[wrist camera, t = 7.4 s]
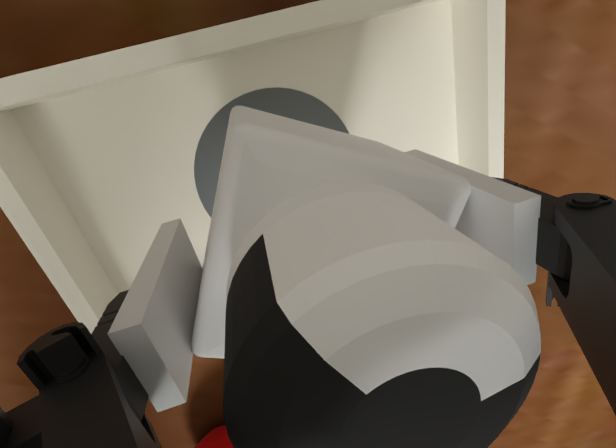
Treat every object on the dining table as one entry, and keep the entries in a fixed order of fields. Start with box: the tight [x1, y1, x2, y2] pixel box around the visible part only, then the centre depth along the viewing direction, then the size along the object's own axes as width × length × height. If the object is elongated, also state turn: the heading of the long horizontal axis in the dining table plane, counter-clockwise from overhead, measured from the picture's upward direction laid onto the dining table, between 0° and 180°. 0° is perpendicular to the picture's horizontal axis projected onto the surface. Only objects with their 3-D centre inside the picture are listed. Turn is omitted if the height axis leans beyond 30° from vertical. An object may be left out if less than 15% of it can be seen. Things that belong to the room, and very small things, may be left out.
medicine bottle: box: [191, 106, 541, 448], centre depth 11 cm, size 7×7×12 cm
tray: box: [0, 0, 506, 334], centre depth 20 cm, size 26×16×4 cm, turn 104°
